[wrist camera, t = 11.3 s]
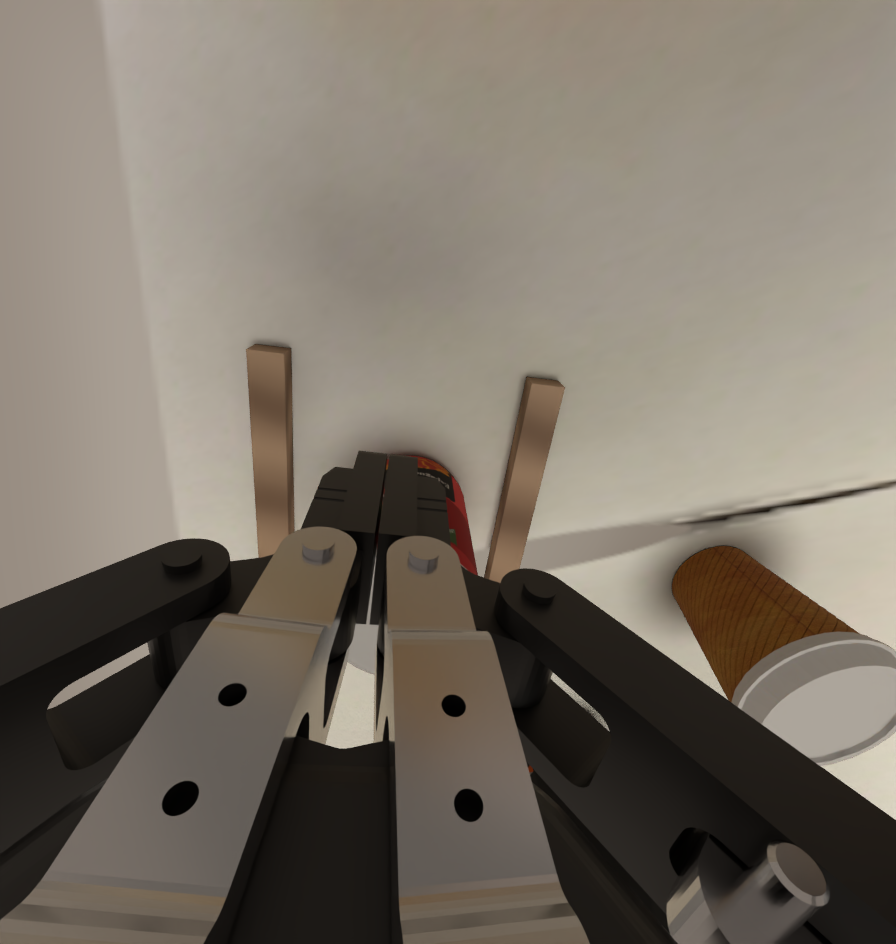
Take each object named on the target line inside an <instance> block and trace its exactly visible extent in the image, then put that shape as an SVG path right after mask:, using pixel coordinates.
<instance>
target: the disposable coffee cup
mask: <svg viewBox="0 0 896 944" xmlns="http://www.w3.org/2000/svg"><path fill="white" fill-rule="evenodd" d="M672 593H673V595H674V598H675V599H676V601H677V603H678V605H679V607H680V609H681V610H682V612H683V614H684V616H685V618H686V620H687V622H688V624H689V626H690V628H691V630H692V631H693V634H694V636H695V638H696V639H697V641H698V643H699V645H700V647H701V649H702V651H703V652H704V654H705V657H706V659H707V660H708V662H709V664H710V666H711V668H712V670H713V672H714V674H715V676H716V677H717V679H718V681H719V683H720V685H721V687H722V689H723V691H724V693H725V694H726V696H727V698H728V700H729V701H730V702H731V703H733V704H734V705H735V706H737V707H738V708H740V709H741V710H742V711H744V712H745V713H747V714H748V715H749V716H751V717H752V718H754V719H755V720H756V721H758V722H759V723H761V724H762V725H763V726H765V727H766V728H768V729H769V730H770V731H772V732H773V733H775V734H776V735H777V736H779V737H780V738H782V739H783V740H784V741H786V742H787V743H789V744H790V745H791V746H793V747H794V748H795V749H797V750H798V751H800V752H801V753H802V754H804V755H805V756H807V757H808V758H809V759H811V760H812V761H814V762H815V763H816V764H818V765H819V766H823V765H830V764H833V763H837V762H840V761H843V760H846V759H850V758H853V757H855V756H857V755H859V754H861V753H863V752H866V751H868V750H870V749H872V748H874V747H875V746H877V745H879V744H880V743H882V742H883V741H885V740H886V739H888V738H889V737H890V736H891V735H893V734H894V733H895V732H896V651H895V650H894V649H893V648H891V647H890V646H888V645H886V644H884V643H882V642H880V641H878V640H874V639H872V638H870V637H868V636H865V635H862V634H859V633H858V632H856V631H855V630H854V629H852V628H851V627H849V626H848V625H846V623H844V622H843V621H841V620H839V619H838V618H836V616H834V615H833V614H831V613H830V612H828V611H827V610H826V609H824V608H823V607H821V606H819V605H818V604H817V603H816V602H814V601H813V600H811V599H809V597H807V596H806V595H804V594H802V593H801V592H800V591H798V590H797V589H795V588H794V587H793V586H791V585H790V584H788V583H787V582H785V580H783V579H781V578H780V577H779V576H777V575H776V574H774V573H773V572H771V571H770V570H769V569H767V568H765V566H763V565H761V564H760V563H758V562H757V561H756V560H754V559H753V558H752V557H750V556H749V555H747V554H746V553H745V552H743V551H742V550H740V549H738V548H734V547H730V546H718V547H713V548H709V549H706V550H703V551H701V552H699V553H697V554H695V555H693V556H692V557H690V558H689V559H688V560H686V561H685V562H684V563H683V564H682V565H681V566H680V568H679V569H678V571H677V572H676V574H675V576H674V578H673V583H672Z"/></svg>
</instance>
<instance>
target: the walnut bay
mask: <svg viewBox="0 0 896 944" xmlns="http://www.w3.org/2000/svg"><path fill="white" fill-rule="evenodd" d="M246 354H247V370H248V387H249V404H250V420H251V437H252V454H253V470H254V487H255V504H256V520H257V537H258V554H259V558H261V557H265V556H269V555H272V554H274V553H275V552H276V550H277V548H278V547H279V545H280V543H281V542H282V541H283V539H284V538H285V537H287V536H288V535H289V534H291V533H293V532H294V485H293V427H292V369H291V348H284V347H276V346H267V345H259V344H254V345H253V346H251V347H249V348H248V349H246ZM564 390H565V387H564V386H563V385H562V384H561V383H560V382H559V381H556V380H548V379H540V378H531V377H526V382H525V386H524V391H523V396H522V401H521V405H520V410H519V415H518V419H517V424H516V429H515V434H514V438H513V443H512V448H511V453H510V457H509V462H508V467H507V471H506V476H505V481H504V486H503V490H502V495H501V500H500V505H499V509H498V514H497V519H496V523H495V528H494V533H493V538H492V542H491V547H490V552H489V557H488V561H487V566H486V571H485V575H484V578H486V579H489V580H492V581H496V582H499V583H501V580H502V578H503V577H504V576H505V575H506V574H507V573H509V572H510V571H513V570H517V569H519V568H520V564H521V560H522V556H523V552H524V548H525V544H526V540H527V537H528V533H529V529H530V525H531V521H532V517H533V513H534V509H535V505H536V501H537V497H538V493H539V489H540V485H541V481H542V477H543V473H544V469H545V465H546V461H547V457H548V453H549V449H550V445H551V441H552V437H553V433H554V429H555V425H556V421H557V417H558V413H559V409H560V405H561V401H562V398H563V394H564Z"/></svg>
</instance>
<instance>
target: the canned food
mask: <svg viewBox="0 0 896 944" xmlns="http://www.w3.org/2000/svg"><path fill="white" fill-rule="evenodd" d="M411 457H418V476H423V477H432V478H437V480H438V481H439V482H440V483H441V484H442V486H443V487H444V488H445V491H446V503H447V513H448V522H449V532H450V542H451V547H452V548H453V549H454V550H455V551H456V553H457V555H458V557H459V560H460V564H461V566H462V567H464V568H465V569H466V570H468V571H470V572H471V573H473V574H475V575H478V573H477V568H476V563H475V558H474V552H473V546H472V541H471V535H470V530H469V524H468V519H467V513H466V508H465V502H464V497H463V494H462V491H461V489H460V486H459V485H458V483H457V482H456V480H455V479H454V477H453V476H452V475H451V474H450V473H449V472H448V471H447V470H446V469H444V468H443V467H442V466H441V465H439V464H438V463H436V462H434V461H432V460H429V459H427V458H424V457H419V456H411ZM388 463H389V459H388V460H387V464H386V474H385V484H386V477H387V470H388ZM385 484H384V492H385ZM383 499H384V494H383ZM382 506H383V503H382ZM376 554H377V551H376ZM375 564H376V558H375ZM374 574H375V565H374V572H373V579H372V586H371V594H370V601H369V608H368V615H367V622H366V624H356V625H355V631H354V637H353V640H352V643H351V645H350V646H349V656H348V661H347V662H349V663H350V664H352V665H353V666H355V667H356V668H359V669H361V670H363V671H365V672H368V673H370V674H374V675H375V654H376V645H377V635H378V626H379V625H369V624H370V614H371V604H372V594H373V584H374Z"/></svg>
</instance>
